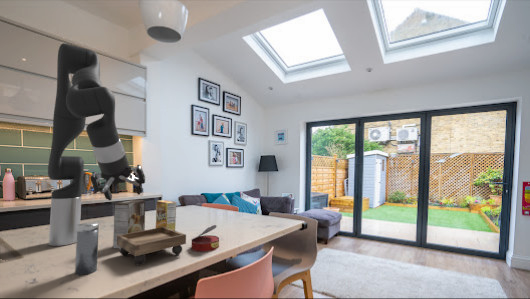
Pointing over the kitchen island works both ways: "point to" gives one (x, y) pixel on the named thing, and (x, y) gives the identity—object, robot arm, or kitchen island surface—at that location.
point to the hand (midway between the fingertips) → (125, 195)
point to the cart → (150, 242)
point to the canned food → (205, 241)
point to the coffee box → (128, 218)
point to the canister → (86, 248)
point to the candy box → (166, 214)
